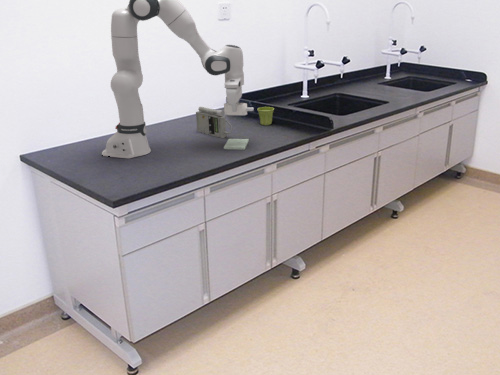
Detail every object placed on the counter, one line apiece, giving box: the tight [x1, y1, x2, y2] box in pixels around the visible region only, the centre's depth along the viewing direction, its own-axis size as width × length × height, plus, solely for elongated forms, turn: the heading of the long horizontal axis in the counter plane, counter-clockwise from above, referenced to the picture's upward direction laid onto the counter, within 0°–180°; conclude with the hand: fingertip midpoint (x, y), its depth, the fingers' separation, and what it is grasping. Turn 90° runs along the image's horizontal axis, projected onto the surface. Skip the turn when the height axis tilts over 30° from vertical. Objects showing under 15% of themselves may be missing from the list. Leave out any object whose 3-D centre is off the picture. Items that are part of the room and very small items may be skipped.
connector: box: [223, 102, 255, 116], centre depth 235 cm, size 14×4×5 cm, turn 82°
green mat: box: [223, 138, 250, 151], centre depth 242 cm, size 10×14×1 cm
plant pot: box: [256, 106, 275, 126], centre depth 275 cm, size 9×9×9 cm
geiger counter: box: [195, 106, 233, 139], centre depth 257 cm, size 14×6×25 cm
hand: (235, 110), depth 235 cm, fingers closed on connector, 4 cm apart
